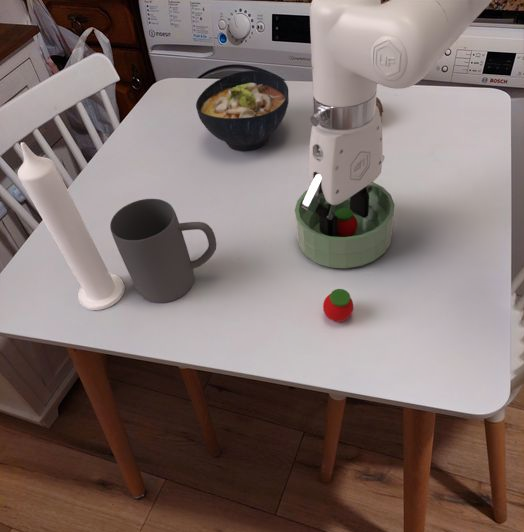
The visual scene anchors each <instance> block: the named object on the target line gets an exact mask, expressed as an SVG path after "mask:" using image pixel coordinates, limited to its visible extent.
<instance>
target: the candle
mask: <svg viewBox="0 0 524 532" xmlns="http://www.w3.org/2000/svg"><path fill="white" fill-rule="evenodd" d="M20 148H21V152H22V156H23V161H22V164H21V165H20V167H19V168H18V170H17V177H18V179H19V181H20V183H21V185H22V186H23V188H24V191H26V193H27V195H28V196H29V198H30V200H31V202H32V203H33V205H34V207H35V209H36V210H37V212H38V214H39V216H40V217H41V219H42V221H43V223H44V224H45V226H46V228H47V230H48V231H49V233H50V235H51V237H52V238H53V240H54V242H55V244H56V246H57V247H58V249H59V251H60V252H61V254H62V256H63V257H64V259H65V261H66V263H67V265H68V267H69V268H70V270H71V272H72V274H73V276H74V277H75V279H76V280H77V282H78V284H79V285H80V288H79V290H78V294H77V299H78V301H79V303H80V305H81V306H82V307H83V308H85V309H87V310H91V311H100V310H105V309H108V308H110V307H112V306H113V305H115V304H116V303H118V302H119V301H120V299H121V298H122V297H123V296H124V293H125V289H126V288H125V283H124V281H123V279H122V278H121V277H120V276H119V275H116V274H112V273H110V272H109V270H108V268H107V266H106V264H105V262H104V260H103V258H102V256H101V254H100V252H99V250H98V248H97V246H96V244H95V242H94V240H93V238H92V236H91V233H90V232H89V230H88V228H87V226H86V224H85V221H84V220H83V218H82V216H81V214H80V212H79V209H78V208H77V205H76V203H75V202H74V199H73V197H72V195H71V194H70V191H69V189H68V187H67V186H66V185H67V184H66V183H65V181H64V178H63V177H62V175H61V173H60V171H59V169H58V167H57V164H56V163H55V162H54V161H53V160H52V159H51V158H48V157H45V156H39V155H36V154H35V153H34V152H33V151H32V150H31V149H30V147H29V146H28V145H27V143H26V142H20Z"/></svg>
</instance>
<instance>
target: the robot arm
mask: <svg viewBox="0 0 524 532" xmlns="http://www.w3.org/2000/svg"><path fill="white" fill-rule="evenodd" d="M381 1H382V0H312V1H311V3H310V7H309V28H310V29H309V31H310V33H309V34H310V54H311V73H312V74H311V75H312V76H311V77H312V95H313V99H312V100H313V114H312V115H311V116H310V117H309V120H310V123H311V125H312V126H311V130H310V131H311V132H310V138H309V151H308V181H309V187H308V189H309V190H308V189H307V190H308V192H307V194H306V196H305V198H304V200H303V202H302V207H303V208H304V209H306V210H308V211H310V212H313V213H316V214H318V215H319V226H320V232H322V233H323V234H324V235H327V236H333V237H338V217H337V216H336V215H335V211H336V207H337V205H338V204H340V203H342V202H344V201H345V200H347V199H348V198H350V210H352V212H354V213H356V214H357V215H359V216H361V217H363V218H366V217H367V216H368V211H369V194H368V193H370V192H371V191H372V189H373V185H372V183H373V182H374V181H375V180H377V178H379V177H380V175H381V173H382V169H383V162H384V160H385V155H384V154H383V152H384V151H383V150H384V149H383V127H382V125H383V124H382V117H381V118H380V113H379V109H378V107H377V106H376V97H377V93H378V92H377V89H378V85H380V86H383V87H385V88H389V89H395V90H401V89H402V90H403V89H407V88H410V87H413V86H414V85H416V84H418V83H419V82H420V81H421V80H422V79H424V78H425V77H426V75H428V73H429V72H430V71H431V70H432V69H433V67H435V66H436V64H437V63H438V62H439V61H440V59H441V58H442V57H443V56H444V55H445V53H446V52H447V51H448V50H449V49H450V48H451V47H452V46H453V45H454V44H455V43H456V42H457V40H458V39H459V38H460V37H461V36H462V35H463V34H464V32H465V31H466V30H467V29H468V28H469V27H470V26H471V25H472V23H473V22H474V21H475V20H476V19H477V18H478V17H479V16H480V15H481V14H482V13H483V11H485V9H486V8H487V7H488V6H489V5H490V4H491V3H492V2H493V1H494V0H388V1H385V2H384V3H382V2H381ZM325 199H326V201H327V202H328V203H329V205H328V208H326V207H324V204H325Z"/></svg>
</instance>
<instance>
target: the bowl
mask: <svg viewBox="0 0 524 532" xmlns="http://www.w3.org/2000/svg"><path fill="white" fill-rule="evenodd" d="M289 99H290V98H289V86H288V84H287V82H286V81H285V80H284V79H283V78H281V76H279V75H277V74H276V73H272V72H269V71H262V70H245V71H243V70H242V71H237V72H233V73H230V74H228V75H226V76H223V77H221V78H219V79H217V80H216V81H214V82H213V83H211V84H210V85H209V86H207V87H206V88H205V89H204V90H203V91H202V92H201V94H199V96H198V97H197V100H196V102H195V108H196V112H197V115H198V119H199V120H200V121H201V123H202V124H203V126H204V127H205V129H206V130H208V132H209V133H210V134H212V135H213V136H214V137H216V138H217V139H218V140H220V141H222V142H224V143H225V144H226V145H227V146H228V147H229V148H230V149H231V150H234V151H238V152H248V151H254V150H257V149H259V148H261V147H264V146H265V145H266V144H268V142H269V141H270V138H271V136H272V134H273V133H274V132H275V131H277V129H278V127H279V126H280V125H281V123H282V121H283V119H284V118H285V116H286V113H287V109H288V107H289V104H290V103H289Z"/></svg>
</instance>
